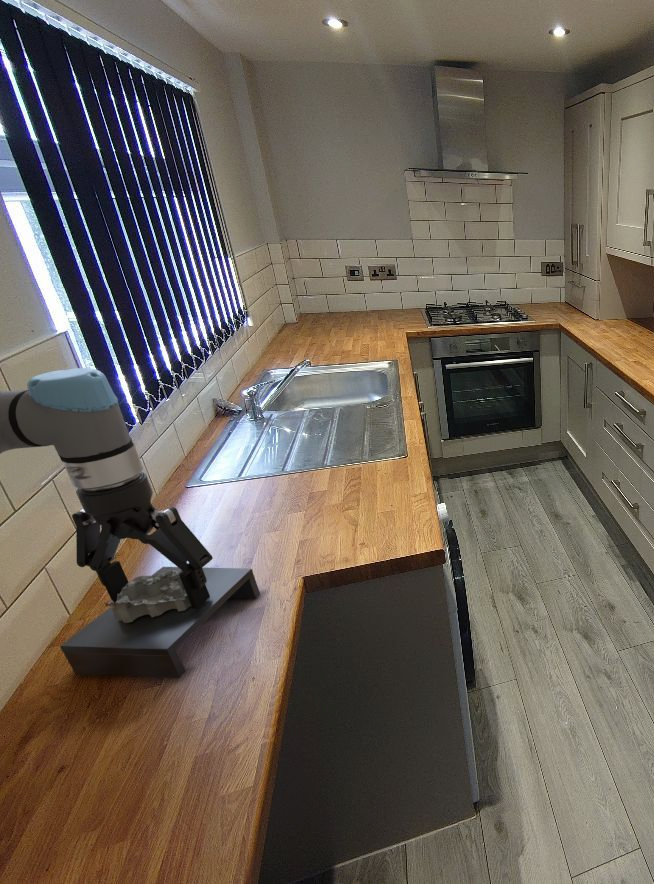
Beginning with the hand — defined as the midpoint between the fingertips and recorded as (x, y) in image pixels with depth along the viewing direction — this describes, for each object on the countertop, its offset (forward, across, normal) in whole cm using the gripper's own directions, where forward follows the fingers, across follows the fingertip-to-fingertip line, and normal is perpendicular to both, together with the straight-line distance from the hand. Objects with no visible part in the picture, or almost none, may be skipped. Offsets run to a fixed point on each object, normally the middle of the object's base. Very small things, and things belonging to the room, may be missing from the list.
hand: (162, 601), depth 82 cm
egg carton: (0, 0, 0) cm, 0 cm away
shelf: (+6, 0, 0) cm, 6 cm away
